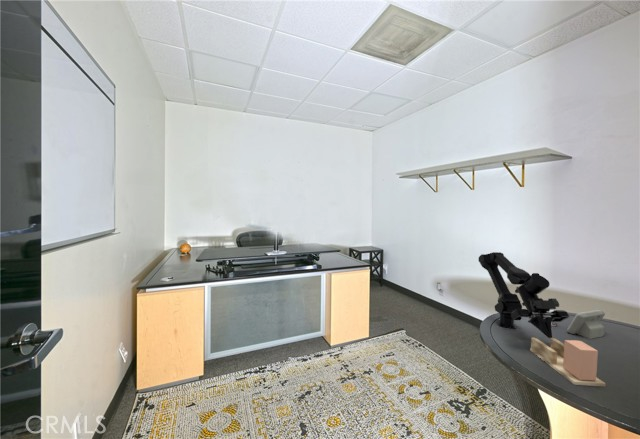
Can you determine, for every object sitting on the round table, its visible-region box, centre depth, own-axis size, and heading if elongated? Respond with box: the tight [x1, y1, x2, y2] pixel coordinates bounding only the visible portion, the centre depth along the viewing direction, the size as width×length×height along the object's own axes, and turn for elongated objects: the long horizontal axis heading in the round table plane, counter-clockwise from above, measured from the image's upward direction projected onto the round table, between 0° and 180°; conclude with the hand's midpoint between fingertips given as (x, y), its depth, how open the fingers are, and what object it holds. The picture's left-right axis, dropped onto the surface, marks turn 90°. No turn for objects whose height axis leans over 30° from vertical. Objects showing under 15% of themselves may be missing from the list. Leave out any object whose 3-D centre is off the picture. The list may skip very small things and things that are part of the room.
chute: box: [529, 337, 606, 387], centre depth 89 cm, size 19×9×6 cm, turn 175°
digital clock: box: [566, 309, 606, 340], centre depth 113 cm, size 16×9×11 cm, turn 94°
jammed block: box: [563, 339, 599, 381], centre depth 84 cm, size 6×5×10 cm
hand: (550, 337), depth 95 cm, fingers closed
